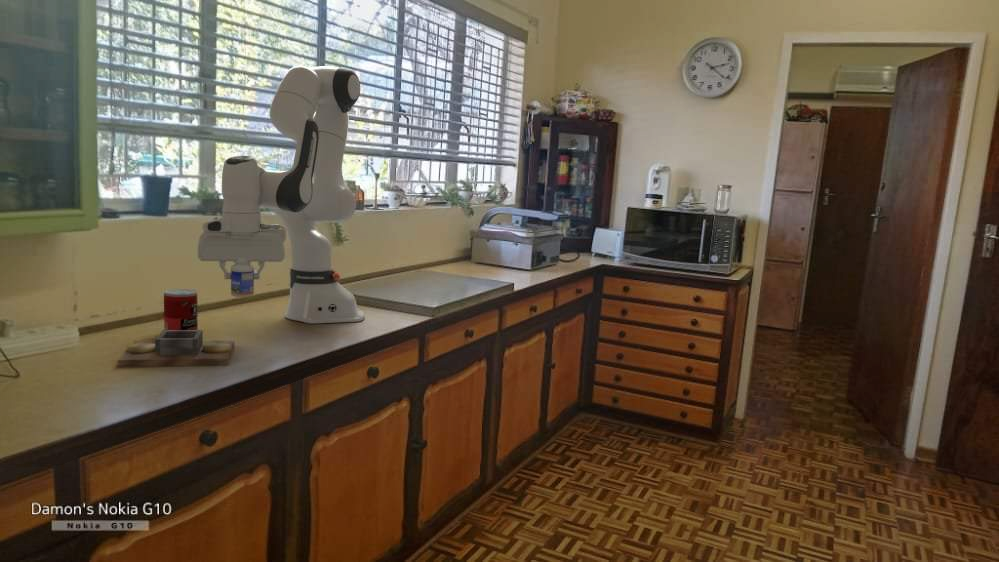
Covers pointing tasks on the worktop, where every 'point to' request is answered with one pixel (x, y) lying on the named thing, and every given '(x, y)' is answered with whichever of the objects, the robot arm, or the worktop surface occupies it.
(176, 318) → the canned food
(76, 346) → the worktop surface
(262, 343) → the worktop surface
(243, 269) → the pill bottle
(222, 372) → the worktop surface
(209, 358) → the board
